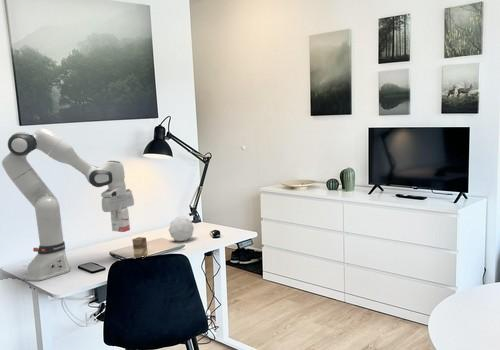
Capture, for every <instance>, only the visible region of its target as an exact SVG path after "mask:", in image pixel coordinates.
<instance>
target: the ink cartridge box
mask: <svg viewBox="0 0 500 350" xmlns="http://www.w3.org/2000/svg"><path fill="white" fill-rule="evenodd" d="M115 213H116V215H118V218H117V219H113V215H112V213H111V212H110V219H111V220H110V221H111V231H112V232H118V233H119V232H120V233H126V232H128V231H130V230H131V227H130V214H129V208H127V209H126V208H122V205H121V204H118V210H116V212H115Z"/></svg>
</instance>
